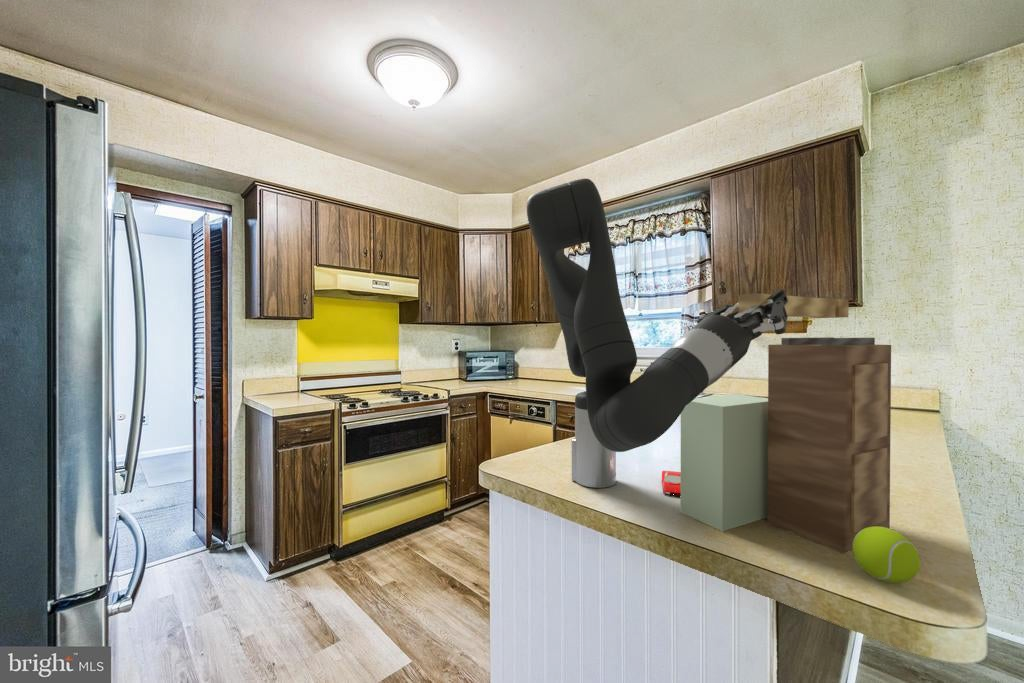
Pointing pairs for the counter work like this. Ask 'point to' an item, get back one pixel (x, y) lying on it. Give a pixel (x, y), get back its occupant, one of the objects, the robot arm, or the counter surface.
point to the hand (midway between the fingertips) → (771, 296)
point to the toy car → (671, 483)
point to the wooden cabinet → (829, 438)
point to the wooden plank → (800, 305)
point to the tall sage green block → (725, 460)
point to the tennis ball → (886, 554)
